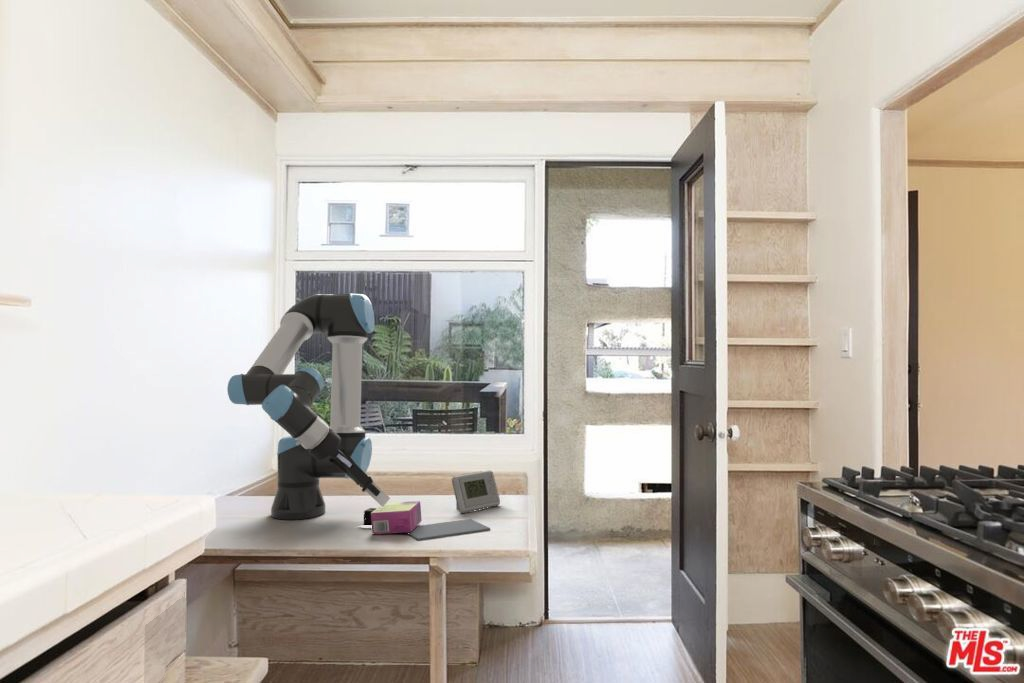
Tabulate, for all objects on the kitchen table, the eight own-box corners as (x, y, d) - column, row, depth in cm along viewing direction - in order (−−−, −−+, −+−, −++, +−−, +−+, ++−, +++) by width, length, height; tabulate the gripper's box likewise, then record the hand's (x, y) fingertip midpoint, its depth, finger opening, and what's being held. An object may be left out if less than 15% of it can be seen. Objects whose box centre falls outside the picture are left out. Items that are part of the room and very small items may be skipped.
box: (411, 532, 169) (422, 521, 181) (409, 510, 169) (420, 500, 181) (371, 535, 170) (384, 523, 182) (370, 513, 170) (383, 502, 182)
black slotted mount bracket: (372, 533, 174) (372, 515, 174) (348, 531, 176) (347, 513, 176) (394, 521, 186) (394, 505, 186) (371, 520, 188) (370, 503, 188)
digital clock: (459, 515, 191) (459, 478, 191) (444, 509, 199) (444, 473, 199) (506, 508, 200) (506, 472, 200) (491, 502, 208) (490, 468, 208)
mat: (401, 529, 175) (401, 527, 175) (470, 520, 184) (470, 518, 184) (417, 540, 164) (417, 538, 164) (490, 530, 174) (490, 528, 174)
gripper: (301, 447, 163) (367, 508, 171) (313, 454, 152) (383, 519, 159) (323, 425, 166) (387, 486, 173) (336, 429, 155) (404, 494, 162)
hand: (385, 501), depth 166 cm, fingers closed
